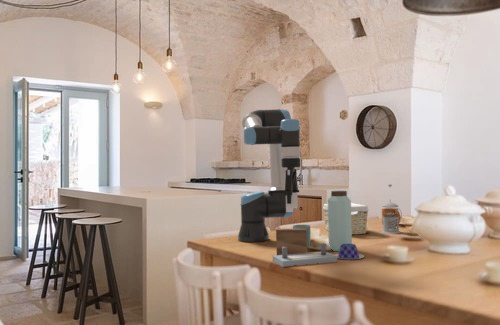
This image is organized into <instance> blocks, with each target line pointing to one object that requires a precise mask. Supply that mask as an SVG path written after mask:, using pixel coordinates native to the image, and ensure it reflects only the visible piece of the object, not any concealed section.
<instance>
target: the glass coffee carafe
mask: <svg viewBox="0 0 500 325" xmlns="http://www.w3.org/2000/svg"><path fill="white" fill-rule="evenodd" d="M395 210H397V209H396V207H393V208H391V213H397V215H384V213H390V208H388V207H384V208H381V223H382V225H383V216H396V217H397V216H398V218H399V224H400V222H401V220H402V218H401V212H400V211H399V212H398V210H399V209H398V210H397V211H395ZM399 214H400V216H399ZM400 219H401V220H400ZM396 221H397V219H396ZM396 223H397V222H396ZM391 225H392V224H391Z"/></svg>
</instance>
